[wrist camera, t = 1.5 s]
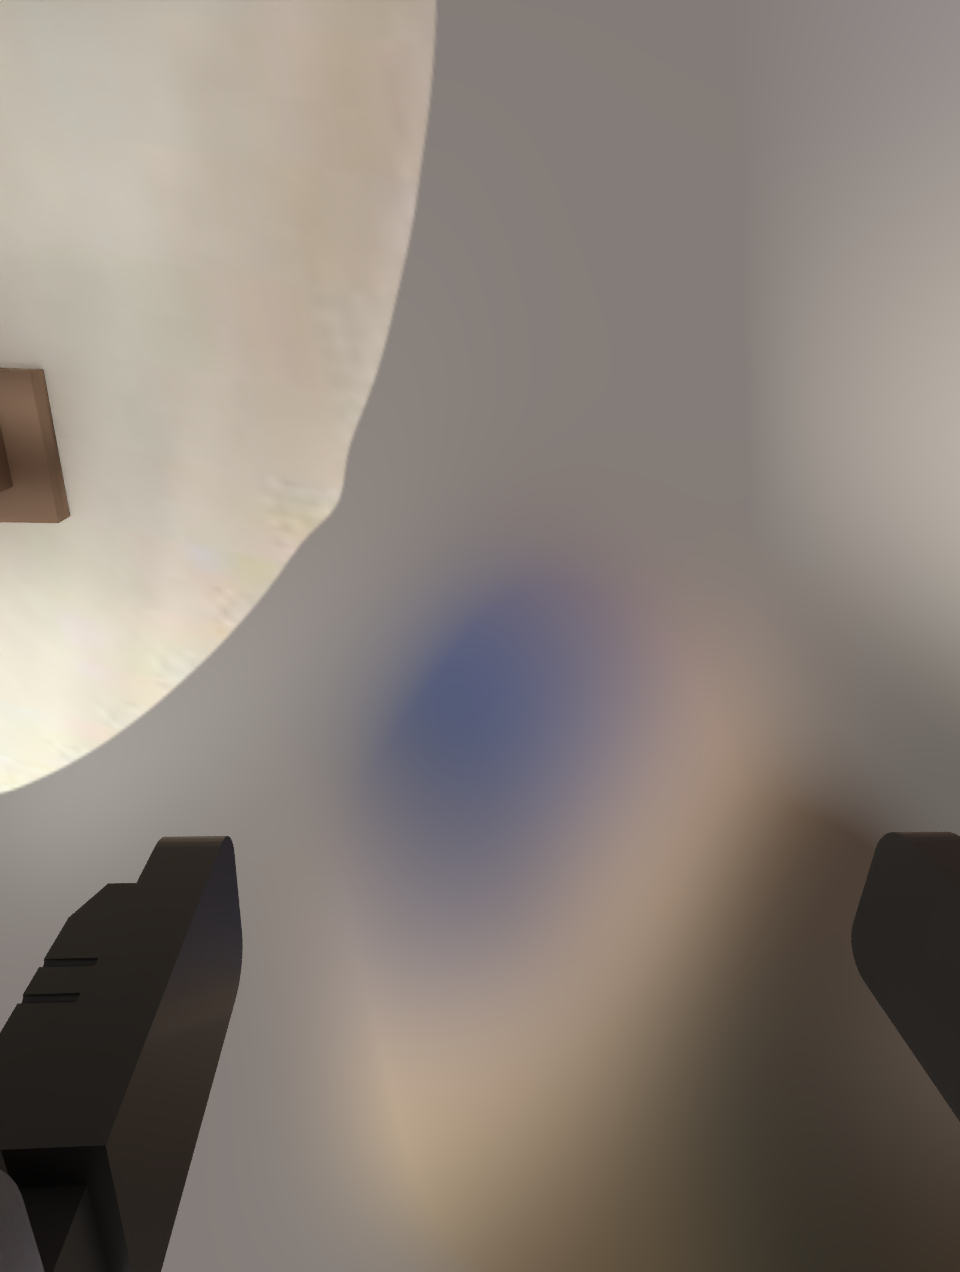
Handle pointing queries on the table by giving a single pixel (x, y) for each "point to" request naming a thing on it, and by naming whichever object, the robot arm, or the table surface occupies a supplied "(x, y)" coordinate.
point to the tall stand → (28, 451)
